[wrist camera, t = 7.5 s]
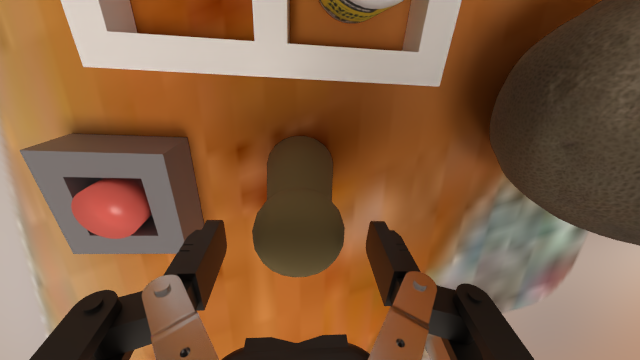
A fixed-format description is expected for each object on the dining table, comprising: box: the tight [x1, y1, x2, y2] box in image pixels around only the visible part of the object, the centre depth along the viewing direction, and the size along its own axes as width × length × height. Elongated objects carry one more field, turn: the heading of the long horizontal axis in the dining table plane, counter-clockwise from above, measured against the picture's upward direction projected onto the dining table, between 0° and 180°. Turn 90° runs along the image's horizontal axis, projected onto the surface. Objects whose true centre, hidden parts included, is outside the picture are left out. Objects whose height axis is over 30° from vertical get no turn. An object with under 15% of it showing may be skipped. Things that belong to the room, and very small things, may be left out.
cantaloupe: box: [490, 0, 640, 245], centre depth 14 cm, size 14×14×15 cm
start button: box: [71, 178, 152, 239], centre depth 19 cm, size 4×4×3 cm
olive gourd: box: [252, 136, 345, 277], centre depth 17 cm, size 6×6×11 cm
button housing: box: [20, 134, 204, 254], centre depth 20 cm, size 9×9×4 cm
